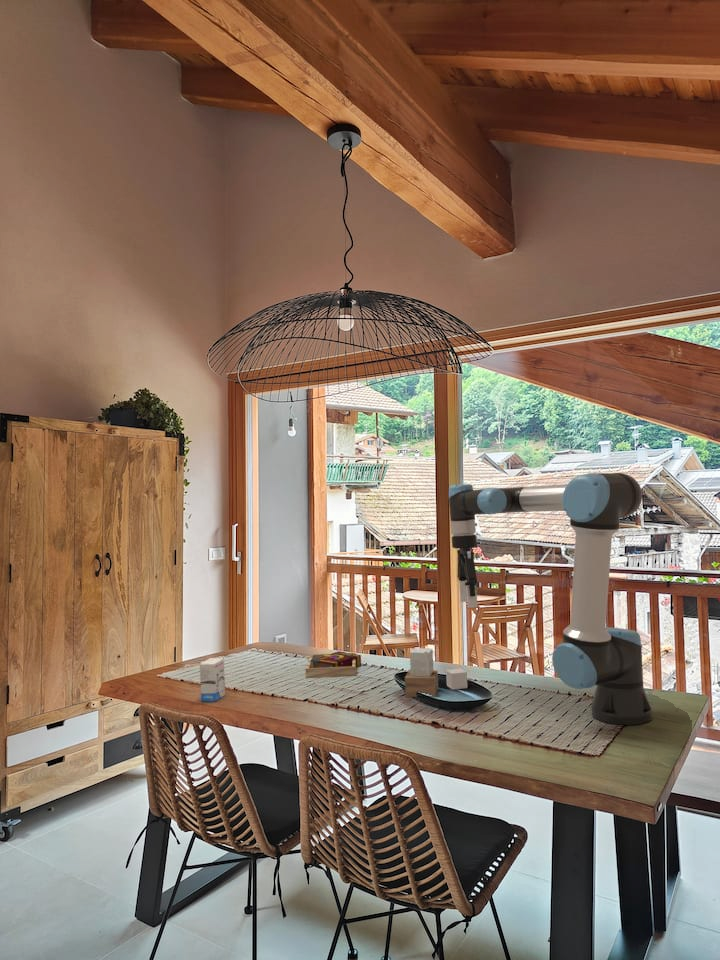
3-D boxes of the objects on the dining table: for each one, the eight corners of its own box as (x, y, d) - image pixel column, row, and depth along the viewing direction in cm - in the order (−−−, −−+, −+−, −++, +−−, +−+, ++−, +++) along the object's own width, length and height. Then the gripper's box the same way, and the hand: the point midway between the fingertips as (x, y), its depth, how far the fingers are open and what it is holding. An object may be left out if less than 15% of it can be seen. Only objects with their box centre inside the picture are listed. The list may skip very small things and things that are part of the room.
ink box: (215, 702, 213) (213, 663, 214) (200, 702, 214) (198, 663, 215) (226, 694, 222) (224, 657, 222) (211, 694, 223) (210, 657, 223)
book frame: (355, 675, 238) (354, 666, 238) (306, 677, 238) (305, 669, 238) (356, 660, 260) (355, 652, 260) (311, 662, 260) (310, 654, 260)
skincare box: (414, 671, 218) (413, 647, 218) (434, 671, 216) (432, 648, 216) (410, 676, 212) (409, 652, 212) (430, 677, 210) (428, 652, 210)
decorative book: (362, 666, 252) (361, 653, 252) (332, 677, 239) (331, 662, 239) (338, 663, 259) (338, 649, 259) (308, 672, 246) (308, 658, 247)
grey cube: (467, 688, 217) (466, 672, 217) (452, 689, 215) (451, 673, 216) (461, 684, 221) (460, 668, 222) (446, 685, 220) (446, 670, 220)
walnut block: (435, 698, 208) (434, 678, 209) (405, 697, 210) (404, 677, 210) (438, 689, 217) (437, 670, 217) (410, 689, 219) (409, 670, 219)
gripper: (484, 535, 200) (489, 609, 199) (468, 533, 225) (473, 598, 223) (458, 536, 200) (463, 610, 198) (445, 534, 224) (450, 600, 223)
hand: (468, 604), depth 211 cm, fingers open, 13 cm apart
